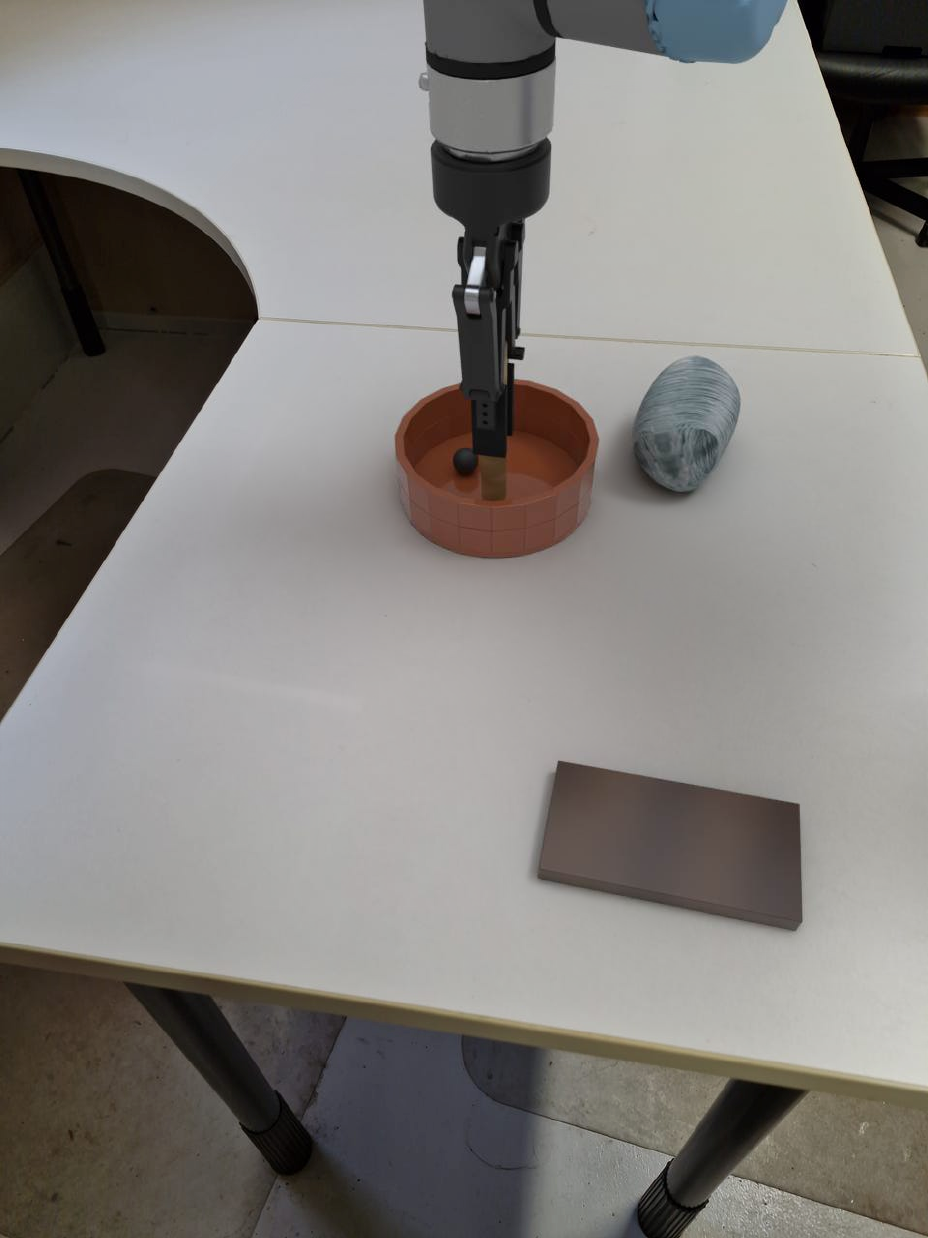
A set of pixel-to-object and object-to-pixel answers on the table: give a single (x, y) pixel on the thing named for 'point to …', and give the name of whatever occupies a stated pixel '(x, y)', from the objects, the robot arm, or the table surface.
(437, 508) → the bowl
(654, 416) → the blue yarn skein
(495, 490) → the stick
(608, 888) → the brown board
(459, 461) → the bead
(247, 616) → the table surface
